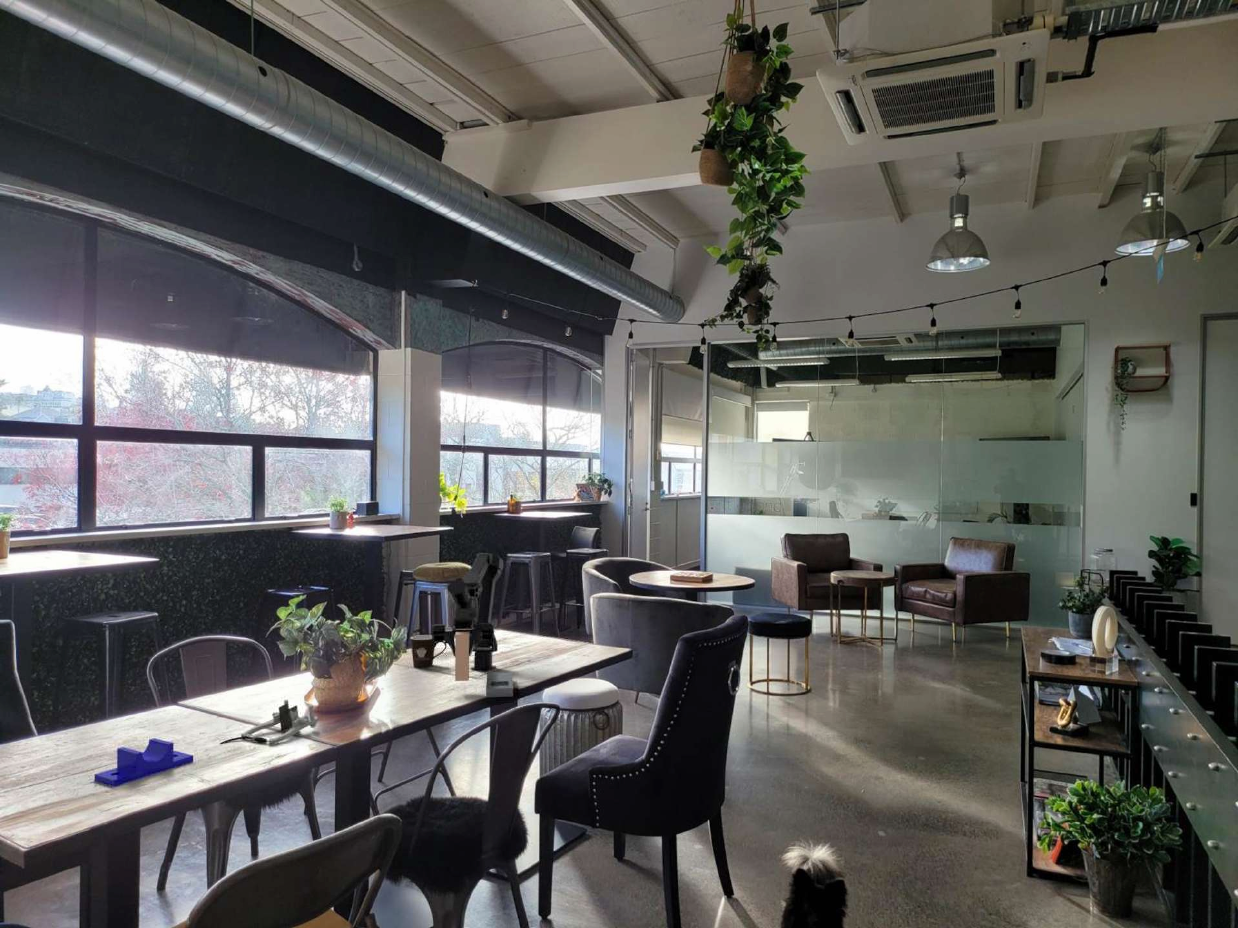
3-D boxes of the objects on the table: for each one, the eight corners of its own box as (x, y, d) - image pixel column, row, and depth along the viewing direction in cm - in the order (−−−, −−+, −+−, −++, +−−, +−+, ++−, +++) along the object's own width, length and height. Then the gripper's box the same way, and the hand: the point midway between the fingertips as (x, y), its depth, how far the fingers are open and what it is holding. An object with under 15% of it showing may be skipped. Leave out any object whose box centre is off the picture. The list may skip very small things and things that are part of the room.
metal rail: (487, 681, 267) (487, 673, 267) (512, 680, 268) (512, 672, 269) (486, 697, 248) (486, 688, 248) (513, 696, 249) (513, 687, 249)
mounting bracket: (113, 788, 175) (114, 760, 176) (94, 782, 179) (94, 754, 179) (193, 763, 191) (193, 736, 191) (173, 758, 195) (174, 732, 195)
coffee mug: (405, 667, 286) (405, 638, 287) (420, 662, 294) (420, 634, 295) (433, 670, 282) (433, 641, 282) (447, 665, 290) (448, 636, 290)
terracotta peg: (455, 677, 254) (456, 631, 254) (469, 677, 255) (469, 631, 255) (455, 681, 250) (455, 634, 250) (468, 680, 251) (468, 634, 251)
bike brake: (287, 719, 222) (220, 752, 204) (284, 695, 221) (217, 726, 203) (323, 728, 215) (257, 763, 198) (320, 703, 214) (254, 736, 197)
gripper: (432, 598, 255) (429, 641, 244) (493, 597, 258) (493, 639, 247) (434, 619, 263) (431, 662, 252) (493, 618, 266) (493, 660, 255)
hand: (462, 655), depth 251 cm, fingers closed on terracotta peg, 4 cm apart
